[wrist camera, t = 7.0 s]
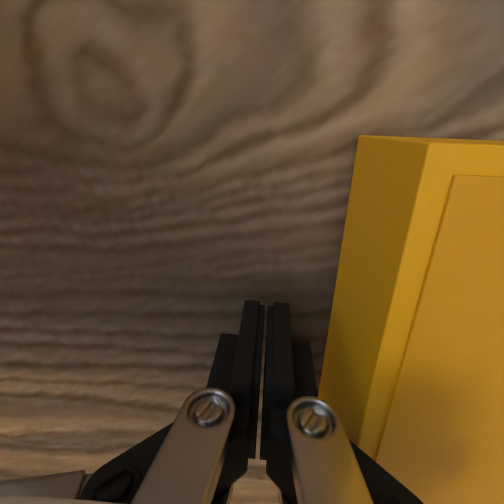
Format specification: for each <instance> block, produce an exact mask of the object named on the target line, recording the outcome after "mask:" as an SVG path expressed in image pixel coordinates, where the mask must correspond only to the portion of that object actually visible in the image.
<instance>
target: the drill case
mask: <svg viewBox="0 0 504 504" xmlns="http://www.w3.org/2000/svg"><path fill="white" fill-rule="evenodd" d="M318 398H320V399H323V400H325V401H326V402H328V403H330V404H331V405H332V406H333V407H334V408H335V409H336V411H337V412H338V414H339V416H340V418H341V421H342V423H343V426H344V428H345V431H346V433H347V436H348V439H349V440H350V441H351V442H353V443H354V444H355V445H356V446H357V447H359V448H360V449H361V450H362V451H363V452H364V453H366V454H367V455H368V456H369V457H370V458H372V459H373V460H374V461H375V462H376V463H378V464H379V465H380V466H381V467H382V468H384V469H385V470H386V471H387V472H388V473H389V474H391V475H392V476H393V477H394V478H395V479H397V480H398V481H399V482H400V483H401V484H403V485H404V486H405V487H406V488H407V489H409V490H410V491H411V492H412V493H413V494H414V495H416V496H417V497H418V498H419V499H420V500H421V501H422V502H423V503H424V504H504V141H498V140H473V139H448V138H423V137H398V136H373V135H359V137H358V144H357V150H356V157H355V163H354V170H353V176H352V182H351V189H350V195H349V202H348V208H347V214H346V221H345V227H344V234H343V240H342V246H341V253H340V259H339V266H338V272H337V279H336V285H335V291H334V298H333V304H332V311H331V317H330V323H329V330H328V336H327V343H326V349H325V356H324V362H323V368H322V375H321V381H320V388H319V394H318Z"/></svg>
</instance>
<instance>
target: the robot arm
mask: <svg viewBox="0 0 504 504" xmlns="http://www.w3.org/2000/svg"><path fill="white" fill-rule="evenodd" d="M259 303H260V301H251V300H245V304H244V309H243V314H242V320H241V325H240V331H239V335H235V334H221V336H220V339H219V343H218V346H217V350H216V354H215V358H214V361H213V365H212V369H211V372H210V376H209V380H208V383H207V387H206V388H203V389H200V390H198V391H195V392H194V393H192V394H191V395H190V396H188V398H187V399H186V400H185V402H184V403H183V405H182V407H181V409H180V411H179V413H178V415H177V417H176V419H175V420H174V422H173V423H171V424H170V425H168V426H166V427H165V428H163V429H161V430H160V431H158V432H157V433H155V434H153V435H152V436H150V437H148V438H147V439H145V440H144V441H142V442H140V443H139V444H137V445H135V446H134V447H132V448H131V449H129V450H127V451H126V452H124V453H122V454H121V455H119V456H118V457H116V458H114V459H113V460H111V461H109V462H108V463H106V464H105V465H103V466H102V467H101V468H99V469H98V470H97V471H95V473H92V474H86V473H85V470H81V471H73V472H66V473H59V474H51V475H44V476H37V477H30V478H22V479H15V480H8V481H3V482H0V504H230V500H231V496H232V492H233V485H234V482H235V481H237V480H238V479H239V478H240V477H241V476H242V475H244V474H245V473H246V471H247V465H248V458H252V459H255V452H256V437H257V422H258V407H259V392H260V377H261V362H262V345H263V329H264V312H265V305H259ZM260 460H267V464H266V473H267V475H268V476H269V477H270V479H271V480H272V481H273V482H274V483H275V484H276V486H277V487H278V497H279V504H424V503H423V502H422V501H421V500H420V499H419V498H418V497H417V496H416V495H414V494H413V493H412V492H411V491H410V490H409V489H407V488H406V487H405V486H404V485H403V484H401V483H400V482H399V481H398V480H397V479H395V478H394V477H393V476H392V475H391V474H389V473H388V472H387V471H386V470H385V469H384V468H382V467H381V466H380V465H379V464H378V463H376V462H375V461H374V460H373V459H372V458H370V457H369V456H368V455H367V454H366V453H364V452H363V451H362V450H361V449H360V448H359V447H357V446H356V445H355V444H354V443H353V442H351V441H350V440H349V439H348V436H347V433H346V431H345V428H344V426H343V423H342V421H341V418H340V416H339V414H338V412H337V411H336V409H335V408H334V407H333V406H332V405H331V404H330V403H328V402H326V401H325V400H323V399H320V398H318V394H317V388H316V381H315V375H314V368H313V361H312V355H311V348H310V342H309V340H298V339H291V326H290V311H289V303H278V302H274V306H268V320H267V336H266V351H265V366H264V385H263V405H262V424H261V444H260Z"/></svg>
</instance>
